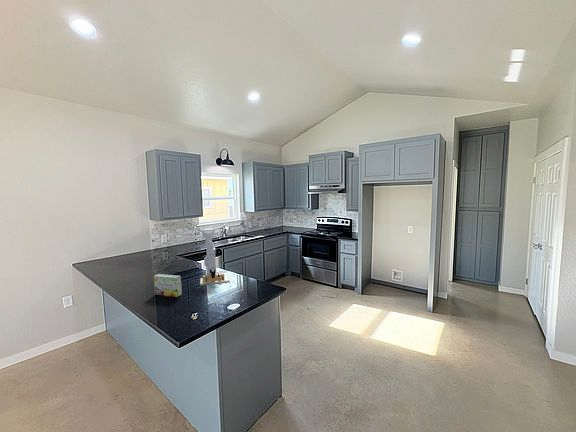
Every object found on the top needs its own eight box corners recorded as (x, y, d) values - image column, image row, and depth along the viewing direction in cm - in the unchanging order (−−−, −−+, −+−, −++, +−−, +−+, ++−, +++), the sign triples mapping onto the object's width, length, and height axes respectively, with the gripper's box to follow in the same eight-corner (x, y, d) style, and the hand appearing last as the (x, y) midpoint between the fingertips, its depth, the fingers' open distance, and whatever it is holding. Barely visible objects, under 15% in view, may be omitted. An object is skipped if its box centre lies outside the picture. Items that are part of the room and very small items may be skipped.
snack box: (154, 295, 200) (153, 275, 199) (160, 292, 206) (158, 273, 205) (177, 297, 194) (176, 277, 193) (182, 294, 199) (181, 275, 198)
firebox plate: (200, 279, 233) (200, 274, 233) (227, 276, 241) (227, 271, 241) (200, 285, 218) (199, 280, 218) (229, 281, 226) (229, 276, 225)
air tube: (224, 277, 234) (223, 272, 234) (224, 278, 230) (224, 274, 230) (202, 280, 228) (202, 275, 228) (202, 281, 225) (202, 276, 224)
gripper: (207, 260, 234) (208, 275, 235) (207, 264, 220) (208, 280, 221) (215, 260, 236) (216, 274, 237) (216, 263, 222) (217, 279, 223)
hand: (213, 277), depth 229 cm, fingers closed on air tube, 4 cm apart
